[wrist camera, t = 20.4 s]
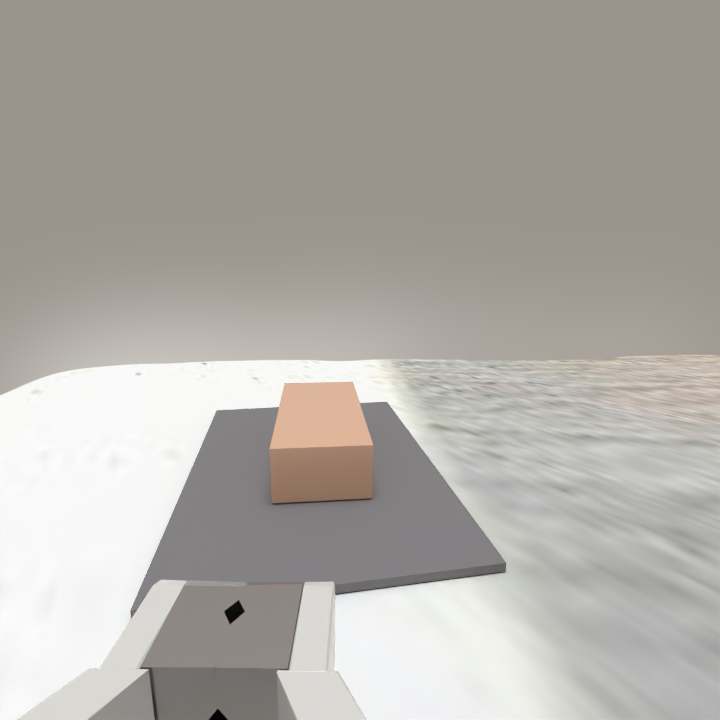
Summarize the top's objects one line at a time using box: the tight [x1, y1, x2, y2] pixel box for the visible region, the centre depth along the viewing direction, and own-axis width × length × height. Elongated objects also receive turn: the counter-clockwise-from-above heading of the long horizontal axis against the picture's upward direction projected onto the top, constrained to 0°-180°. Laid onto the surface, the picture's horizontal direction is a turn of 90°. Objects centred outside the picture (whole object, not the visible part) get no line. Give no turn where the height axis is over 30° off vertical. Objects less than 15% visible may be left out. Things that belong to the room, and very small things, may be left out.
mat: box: [131, 402, 506, 619], centre depth 25 cm, size 14×20×1 cm
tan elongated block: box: [269, 382, 373, 503], centre depth 26 cm, size 5×3×11 cm
